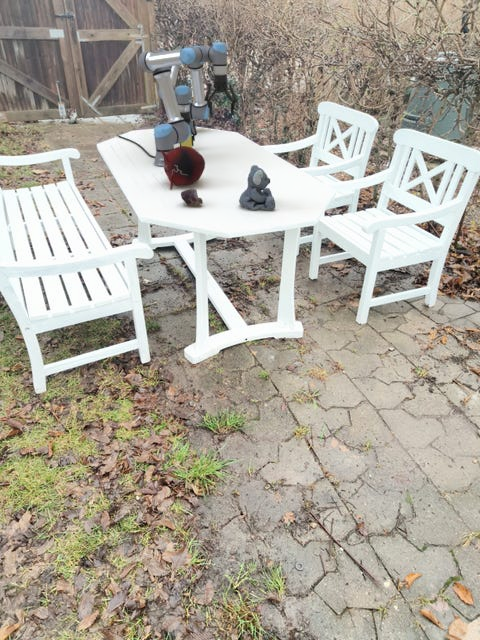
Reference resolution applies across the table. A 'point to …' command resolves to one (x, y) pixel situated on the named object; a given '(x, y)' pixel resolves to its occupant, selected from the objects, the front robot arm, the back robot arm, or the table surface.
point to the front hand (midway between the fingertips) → (221, 114)
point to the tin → (188, 142)
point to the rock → (191, 197)
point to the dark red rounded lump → (183, 165)
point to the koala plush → (257, 191)
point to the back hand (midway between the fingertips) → (186, 145)
